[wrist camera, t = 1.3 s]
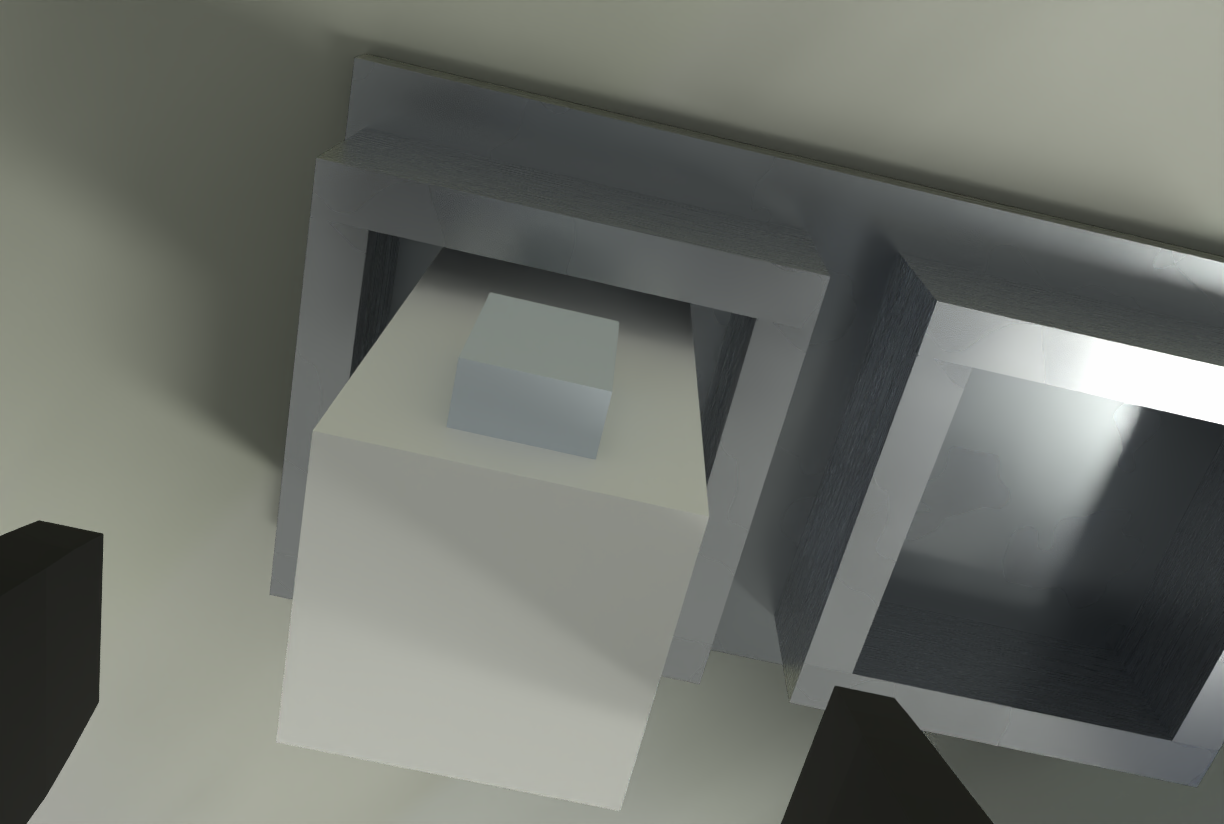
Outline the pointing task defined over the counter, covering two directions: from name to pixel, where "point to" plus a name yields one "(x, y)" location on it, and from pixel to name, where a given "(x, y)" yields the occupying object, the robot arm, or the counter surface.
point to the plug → (500, 533)
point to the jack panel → (847, 407)
